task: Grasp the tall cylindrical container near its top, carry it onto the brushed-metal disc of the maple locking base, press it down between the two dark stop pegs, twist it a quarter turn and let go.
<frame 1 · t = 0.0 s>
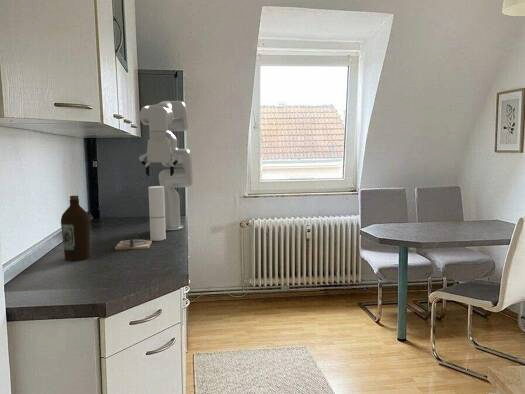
hand: (160, 176, 199), 31 cm above the worktop, tool pointing down, fingers open, 9 cm apart
cylindrical container: (158, 239, 220), on the worktop
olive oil: (77, 258, 184), on the worktop
locking base: (134, 245, 206), on the worktop
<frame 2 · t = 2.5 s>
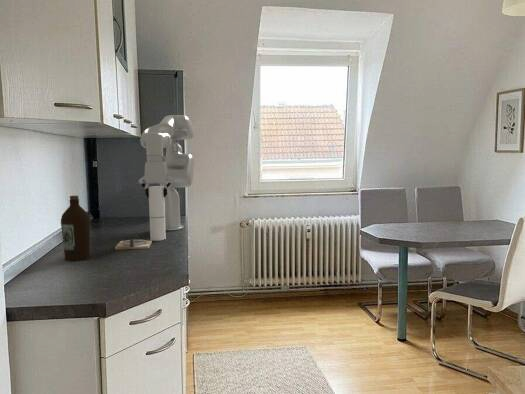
hand: (156, 196, 217), 20 cm above the worktop, tool pointing down, fingers closed on cylindrical container, 7 cm apart
cylindrical container: (158, 239, 220), on the worktop, touching gripper
everything else where it was.
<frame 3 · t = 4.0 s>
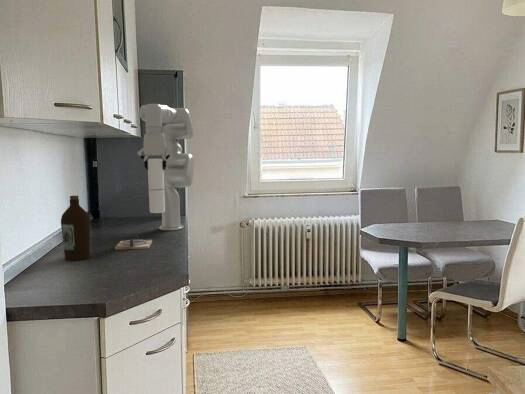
hand: (155, 169, 216), 33 cm above the worktop, tool pointing down, fingers closed on cylindrical container, 7 cm apart
cylindrical container: (157, 212, 219), point 13 cm above the worktop, touching gripper
everything else where it was.
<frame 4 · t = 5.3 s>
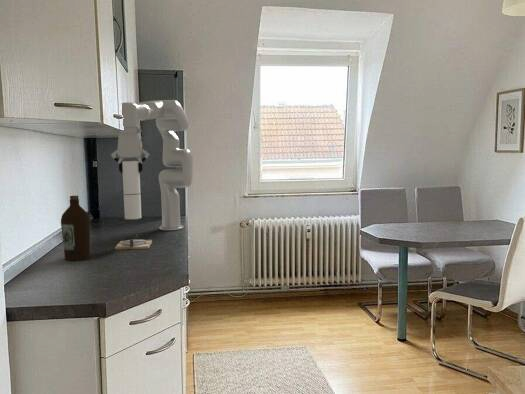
hand: (131, 172, 202), 33 cm above the worktop, tool pointing down, fingers closed on cylindrical container, 7 cm apart
cylindrical container: (133, 218, 205), point 12 cm above the worktop, touching gripper
everything else where it was.
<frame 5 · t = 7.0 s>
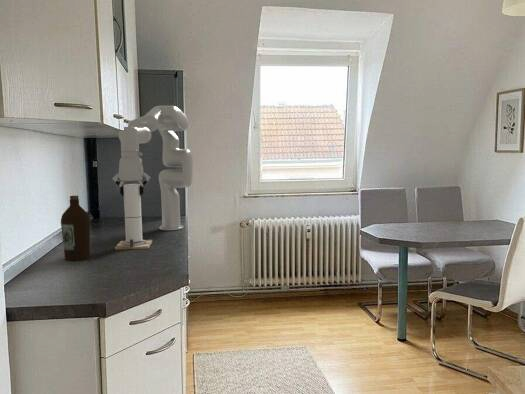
hand: (132, 195, 203), 23 cm above the worktop, tool pointing down, fingers closed on cylindrical container, 7 cm apart
cylindrical container: (134, 240, 206), point 2 cm above the worktop, touching gripper
everything else where it was.
when the fingers open (22 cm above the worktop, at t = 8.0 s): cylindrical container stays where it is, resting on locking base.
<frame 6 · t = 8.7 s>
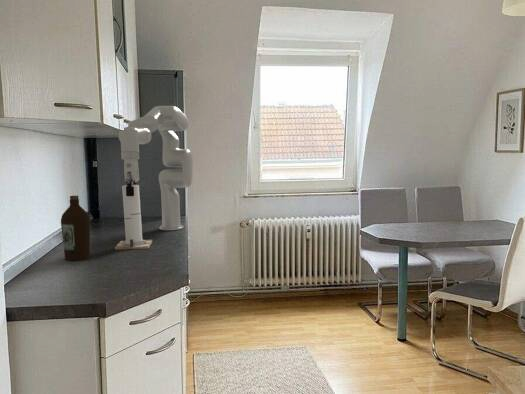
hand: (132, 194, 203), 23 cm above the worktop, tool pointing down, fingers open, 9 cm apart
cylindrical container: (134, 241, 206), point 2 cm above the worktop, touching locking base
everything else where it was.
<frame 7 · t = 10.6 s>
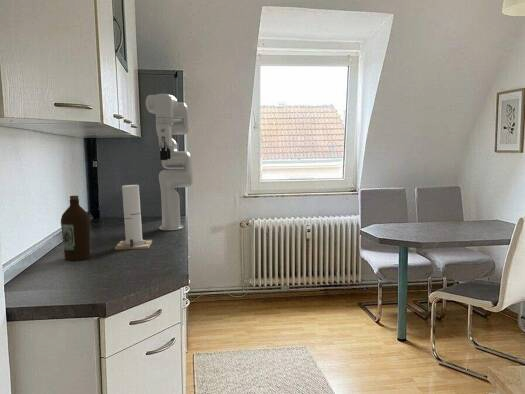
hand: (165, 159, 212), 38 cm above the worktop, tool pointing down, fingers open, 9 cm apart
nothing on the worktop moved.
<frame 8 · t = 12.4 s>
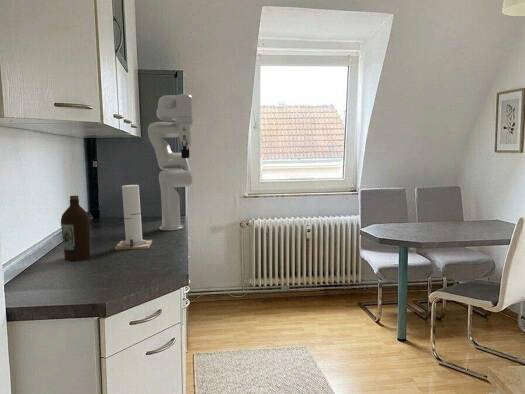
hand: (185, 157, 218), 38 cm above the worktop, tool pointing down, fingers open, 9 cm apart
nothing on the worktop moved.
at the end: cylindrical container 0.2 cm from the locking base (horizontally); cylindrical container tilted 1°; the gripper is holding nothing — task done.
